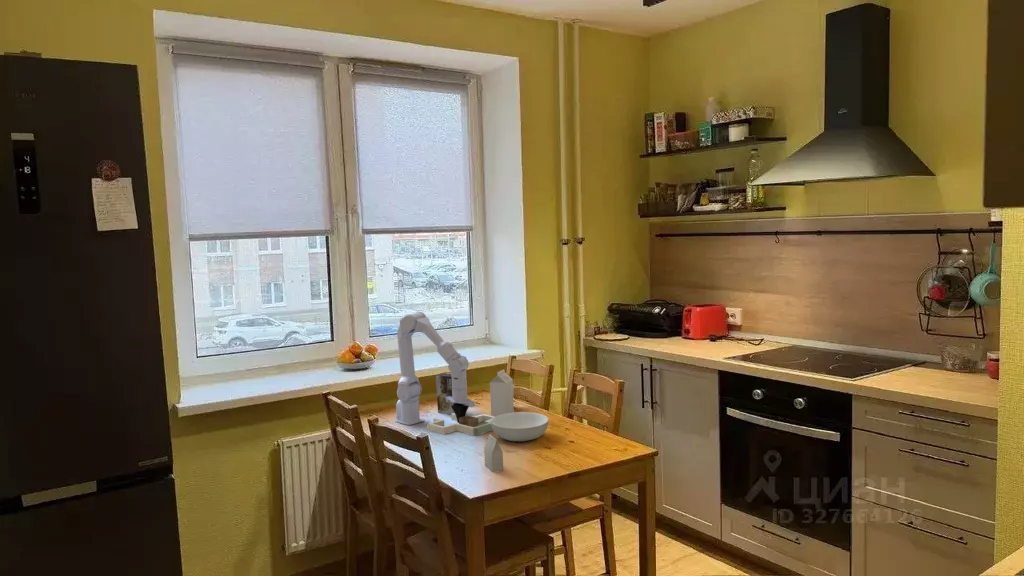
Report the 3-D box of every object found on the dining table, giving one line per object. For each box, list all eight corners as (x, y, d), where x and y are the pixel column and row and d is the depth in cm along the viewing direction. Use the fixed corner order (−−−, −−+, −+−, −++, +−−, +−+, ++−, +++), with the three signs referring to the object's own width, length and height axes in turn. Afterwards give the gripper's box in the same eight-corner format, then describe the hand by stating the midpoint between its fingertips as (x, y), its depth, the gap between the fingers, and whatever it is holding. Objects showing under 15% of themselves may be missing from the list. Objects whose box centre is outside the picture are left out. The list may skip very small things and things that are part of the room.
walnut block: (459, 428, 272) (458, 417, 272) (467, 425, 275) (467, 415, 275) (469, 430, 268) (469, 420, 268) (478, 428, 271) (478, 417, 271)
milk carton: (491, 419, 283) (489, 372, 282) (498, 414, 290) (496, 368, 288) (507, 420, 281) (505, 373, 279) (514, 415, 287) (512, 369, 286)
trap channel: (421, 428, 273) (421, 421, 273) (465, 415, 290) (465, 409, 289) (463, 439, 257) (462, 432, 256) (507, 425, 273) (506, 418, 273)
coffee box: (463, 411, 297) (462, 373, 296) (454, 415, 292) (452, 376, 291) (446, 409, 302) (444, 371, 301) (437, 412, 297) (435, 374, 296)
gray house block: (492, 472, 221) (491, 440, 220) (485, 466, 227) (483, 435, 226) (503, 470, 222) (502, 439, 222) (495, 464, 229) (494, 433, 228)
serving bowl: (482, 444, 250) (482, 425, 250) (503, 428, 270) (503, 410, 269) (538, 448, 243) (538, 429, 243) (556, 431, 263) (555, 413, 262)
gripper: (439, 387, 276) (440, 421, 277) (464, 392, 265) (465, 428, 267) (453, 384, 281) (454, 417, 282) (478, 388, 270) (479, 423, 272)
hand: (460, 422), depth 274 cm, fingers closed
